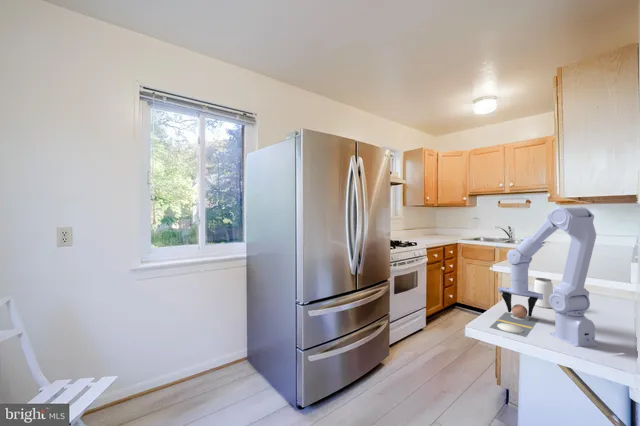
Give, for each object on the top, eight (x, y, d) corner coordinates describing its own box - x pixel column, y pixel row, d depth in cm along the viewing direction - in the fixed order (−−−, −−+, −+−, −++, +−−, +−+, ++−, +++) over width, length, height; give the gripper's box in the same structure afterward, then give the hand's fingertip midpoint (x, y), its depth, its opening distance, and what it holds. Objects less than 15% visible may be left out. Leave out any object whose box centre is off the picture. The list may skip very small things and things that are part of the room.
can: (556, 309, 121) (556, 281, 121) (539, 308, 122) (539, 280, 122) (547, 304, 127) (547, 277, 127) (531, 303, 129) (531, 277, 129)
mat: (525, 338, 94) (525, 336, 94) (489, 328, 102) (489, 327, 102) (538, 320, 109) (538, 318, 109) (505, 313, 117) (505, 311, 117)
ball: (530, 319, 109) (530, 306, 109) (519, 319, 108) (518, 307, 108) (520, 314, 114) (520, 302, 114) (509, 315, 113) (508, 303, 113)
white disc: (529, 332, 98) (529, 331, 98) (508, 333, 97) (508, 333, 97) (511, 323, 106) (511, 322, 106) (492, 324, 105) (492, 323, 105)
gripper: (544, 281, 108) (544, 315, 109) (501, 275, 119) (501, 306, 119) (540, 284, 104) (541, 320, 104) (496, 278, 114) (496, 311, 114)
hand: (519, 313), depth 111 cm, fingers open, 6 cm apart
